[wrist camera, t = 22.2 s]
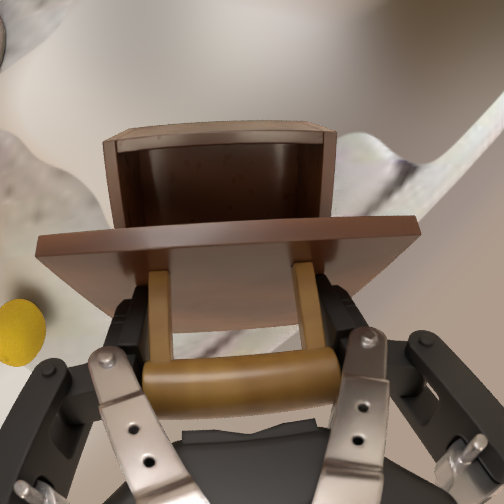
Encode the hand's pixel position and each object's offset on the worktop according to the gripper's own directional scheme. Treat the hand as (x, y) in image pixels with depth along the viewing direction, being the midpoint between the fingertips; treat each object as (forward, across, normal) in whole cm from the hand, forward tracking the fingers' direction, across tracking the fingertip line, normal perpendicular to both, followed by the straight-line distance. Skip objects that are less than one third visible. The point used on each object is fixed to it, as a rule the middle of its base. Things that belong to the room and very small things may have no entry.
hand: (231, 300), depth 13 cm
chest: (+13, 0, 0) cm, 13 cm away
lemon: (+13, +20, +9) cm, 26 cm away
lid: (+3, 0, +1) cm, 3 cm away
